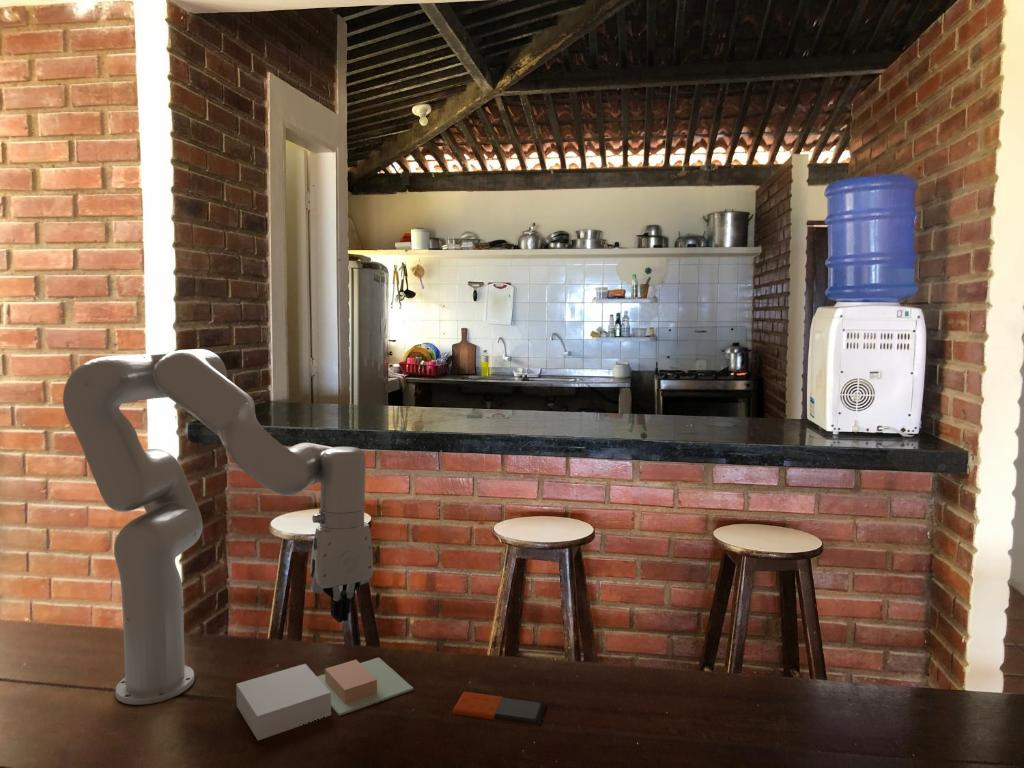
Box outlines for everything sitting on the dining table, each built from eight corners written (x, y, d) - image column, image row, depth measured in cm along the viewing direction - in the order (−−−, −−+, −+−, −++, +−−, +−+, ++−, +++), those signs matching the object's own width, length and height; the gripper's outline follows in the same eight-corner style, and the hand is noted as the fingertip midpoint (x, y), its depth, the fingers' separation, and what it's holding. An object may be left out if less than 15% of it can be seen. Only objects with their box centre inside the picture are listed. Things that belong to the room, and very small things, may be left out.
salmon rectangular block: (356, 659, 127) (356, 672, 127) (325, 668, 123) (325, 681, 124) (377, 679, 120) (377, 693, 120) (344, 690, 116) (344, 704, 116)
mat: (309, 680, 125) (309, 678, 125) (378, 659, 133) (378, 657, 133) (339, 715, 114) (339, 713, 113) (413, 690, 122) (413, 687, 122)
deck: (236, 706, 116) (236, 683, 116) (305, 684, 123) (305, 663, 123) (257, 740, 107) (257, 716, 106) (331, 715, 114) (330, 692, 113)
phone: (463, 689, 121) (546, 701, 117) (463, 696, 121) (545, 708, 117) (451, 709, 115) (538, 722, 111) (451, 716, 115) (538, 729, 111)
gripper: (308, 529, 111) (306, 637, 113) (390, 517, 120) (387, 617, 122) (292, 518, 117) (291, 620, 119) (372, 507, 126) (369, 602, 128)
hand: (340, 618), depth 120 cm, fingers closed
